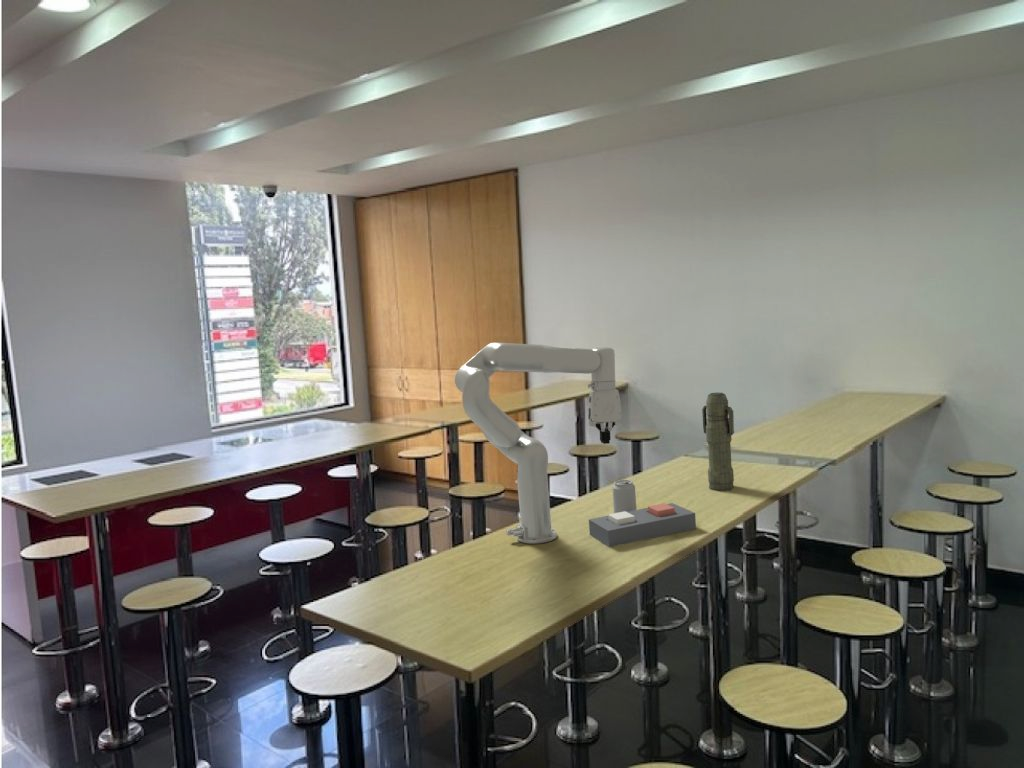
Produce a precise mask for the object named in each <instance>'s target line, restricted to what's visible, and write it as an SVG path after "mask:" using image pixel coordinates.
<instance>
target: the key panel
mask: <svg viewBox="0 0 1024 768" xmlns="http://www.w3.org/2000/svg"><path fill="white" fill-rule="evenodd" d="M666 504H667V505H669V506H672V507H674V508H675V514H670V515H665V516H660V517H656V516H654V515H652V514H650V513H648V507H645V508H640V509H637V510H634V511H629V512H628V513H630V514H632V515H634V516H635V522H631V523H626V524H621V525H615V524H614V523H612V522H610V521H608V515H604V516H599V517H593V518H589V519H588V526H589V527H588V528H589V536H591V537H592V538H594V539H596V540H597V541H599V542H600V543H602V544H603V545H605V546H606V547H608V548H611V547H616V546H621V545H626V544H630V543H635V542H640V541H645V540H649V539H654V538H659V537H664V536H668V535H672V534H677V533H682V532H683V533H684V532H688V531H691V530H695V529H697V524H696V520H697V519H696V512H695V511H691V510H689V509H686V508H685V507H683V506H680V505H678V504H676V503H673V502H670V503H666Z"/></svg>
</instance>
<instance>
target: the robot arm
mask: <svg viewBox="0 0 1024 768" xmlns="http://www.w3.org/2000/svg"><path fill="white" fill-rule="evenodd" d="M615 355H616V354H615V350H614V349H613V347H605V346H604V347H594V348H583V347H582V348H579V347H578V348H572V347H571V348H568V347H559V346H558V347H557V346H553V345H546V344H531V343H530V344H528V343H511V342H509V343H508V342H496V341H495V342H490V343H488V344H487V345H486V346H484V347H483V348H482V349H481V350H479V351H478V352H477V353H476V354H475V355H473V356H472V357H471V358H470V359H469V360H468V361H467V362H465V363H463V365H462V366H460V367H459V368H458V370H457V371H456V373H455V376H454V384H455V386H456V389H458V390H459V391H460V392H462V397H461V401H462V407H463V409H464V413H466V416H467V417H468V418H469V419H470V421H472V422H473V423H474V424H475V425H476V426H477V427H478V428H479V429H481V431H482V434H483V436H484V438H485V439H486V440H487V441H488V442H489V443H490V444H491V445H492V446H493V447H495V448H496V449H497V450H498V451H499V452H501V453H502V454H503V455H504V456H505V457H506V458H508V459H509V460H510V461H512V462H513V463H515V464H517V474H516V475H517V476H516V479H517V483H516V485H517V495H518V505H519V507H518V508H519V517H520V523H517V526H515V528H509V529H506V532H505V533H506V536H507V537H509V536H513V537H516V539H517V541H519V542H521V543H524V544H530V545H531V544H533V545H535V544H536V545H537V544H544V543H549V542H551V541H554V540H555V539H556V538H557V537H558V533H557V531H556V530H555V529H553V528H552V521H551V519H552V518H551V517H552V516H551V505H550V494H549V482H548V481H549V480H548V468H549V467H548V465H549V453H548V450H547V448H546V446H545V445H544V444H543V443H542V442H541V441H540V440H539V439H536V438H534V437H532V436H529V435H527V434H526V433H525V432H524V431H522V429H521V428H520V426H519V424H518V423H517V422H516V420H514V419H513V418H512V417H511V416H509V415H508V414H506V412H505V411H504V410H502V408H500V407H499V406H498V405H497V404H496V403H495V402H494V401H493V400H492V399H491V397H490V387H491V380H490V377H491V376H493V375H494V374H495V373H496V372H497V371H501V372H522V373H523V372H525V373H527V372H528V373H545V374H546V373H548V374H550V373H562V374H588V375H590V374H591V376H590V377H591V382H590V383H588V384H587V388H588V389H591V390H590V392H589V396H588V404H587V405H588V406H587V417H588V426H589V427H594V428H596V429H598V431H599V441H600V443H601V444H604V445H607V444H610V442H611V431H612V429H613V428H614V426H616V425H619V424H621V420H622V418H623V414H622V412H623V411H622V403H621V397H620V392H619V390H618V389H616V361H615Z"/></svg>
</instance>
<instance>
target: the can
mask: <svg viewBox="0 0 1024 768" xmlns="http://www.w3.org/2000/svg"><path fill="white" fill-rule="evenodd" d="M611 490H612V502H613V514H614V513H619V512H624V511H626V512H629V511H634V510H638V509H637V496H636V486H635V484H634V482H633V480H630V479H619V480H615V481H614V482H613V486H612V488H611Z"/></svg>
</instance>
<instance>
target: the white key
mask: <svg viewBox="0 0 1024 768" xmlns="http://www.w3.org/2000/svg"><path fill="white" fill-rule="evenodd" d="M607 516H608V521H610V522H612V523H614V524H615V525H621V524H626V523H631V522H635V516H634V515H632V514H630V513H628V512H626V511H624V512H619V513H614V512H613V513H609V514H607Z"/></svg>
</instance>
